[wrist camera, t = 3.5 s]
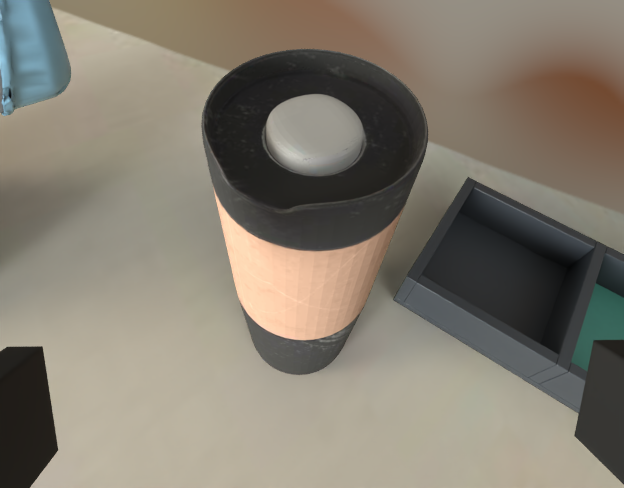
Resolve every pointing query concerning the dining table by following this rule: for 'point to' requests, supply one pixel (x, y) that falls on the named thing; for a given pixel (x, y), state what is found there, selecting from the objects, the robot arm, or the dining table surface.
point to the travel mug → (309, 192)
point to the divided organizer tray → (519, 289)
